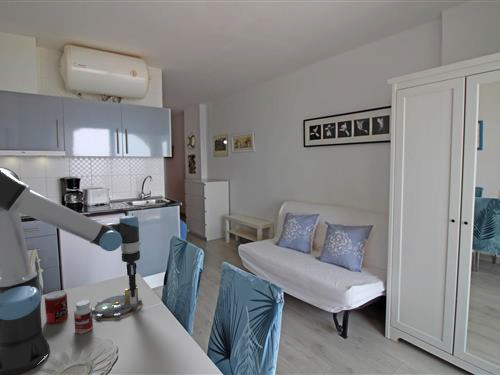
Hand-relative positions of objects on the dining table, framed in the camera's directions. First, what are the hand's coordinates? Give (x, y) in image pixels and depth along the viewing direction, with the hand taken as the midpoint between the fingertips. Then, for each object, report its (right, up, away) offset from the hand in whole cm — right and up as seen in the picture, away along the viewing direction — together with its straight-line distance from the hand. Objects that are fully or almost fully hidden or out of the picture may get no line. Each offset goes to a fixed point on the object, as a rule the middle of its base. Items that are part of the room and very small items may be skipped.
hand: (133, 302), depth 128 cm
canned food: (-29, -5, -6) cm, 31 cm away
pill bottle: (-14, -5, -14) cm, 20 cm away
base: (-8, -3, +2) cm, 9 cm away
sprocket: (-8, -3, +2) cm, 9 cm away
